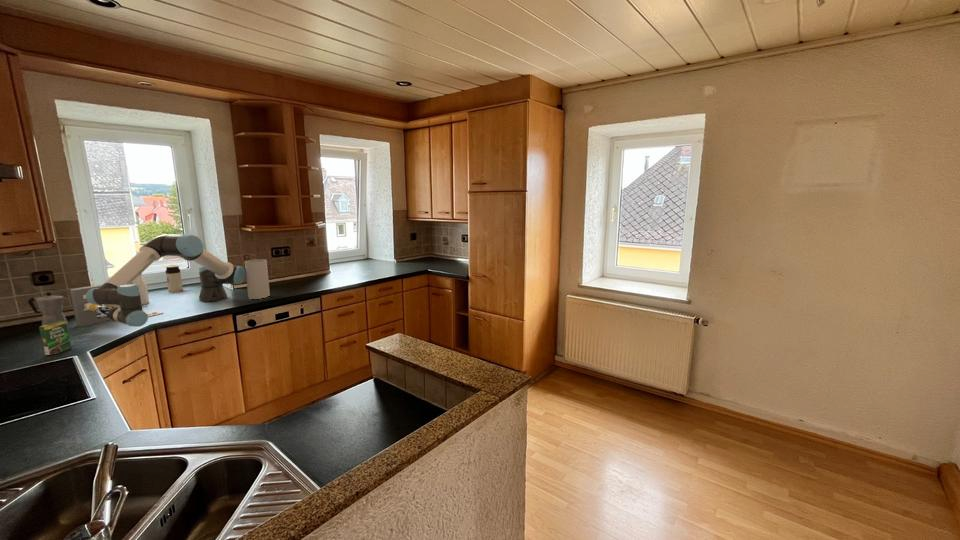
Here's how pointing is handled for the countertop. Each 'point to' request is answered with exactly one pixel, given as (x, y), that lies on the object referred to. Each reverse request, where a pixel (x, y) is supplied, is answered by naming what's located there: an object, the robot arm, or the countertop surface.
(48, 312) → the coffeepot
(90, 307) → the button
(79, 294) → the button panel
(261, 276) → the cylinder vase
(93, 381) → the countertop surface
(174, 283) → the travel mug
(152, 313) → the card
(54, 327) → the coffee box
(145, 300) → the milk bottle
